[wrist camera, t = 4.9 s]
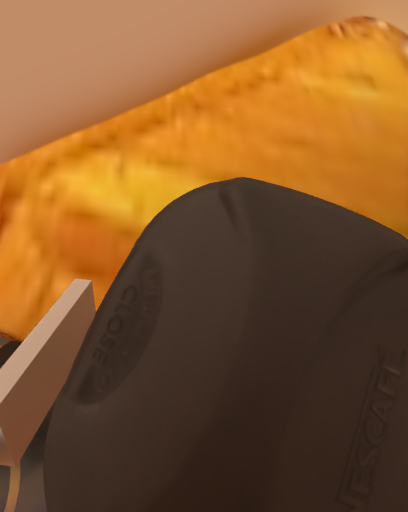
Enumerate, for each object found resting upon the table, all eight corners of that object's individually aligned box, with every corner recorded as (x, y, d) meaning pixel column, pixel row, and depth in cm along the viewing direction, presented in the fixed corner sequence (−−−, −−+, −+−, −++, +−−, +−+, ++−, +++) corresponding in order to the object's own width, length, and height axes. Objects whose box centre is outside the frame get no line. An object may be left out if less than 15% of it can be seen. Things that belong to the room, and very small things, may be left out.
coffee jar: (199, 276, 25) (170, 95, 7) (297, 316, 24) (547, 222, 6) (145, 401, 23) (-104, 596, 5) (251, 451, 22) (440, 940, 4)
